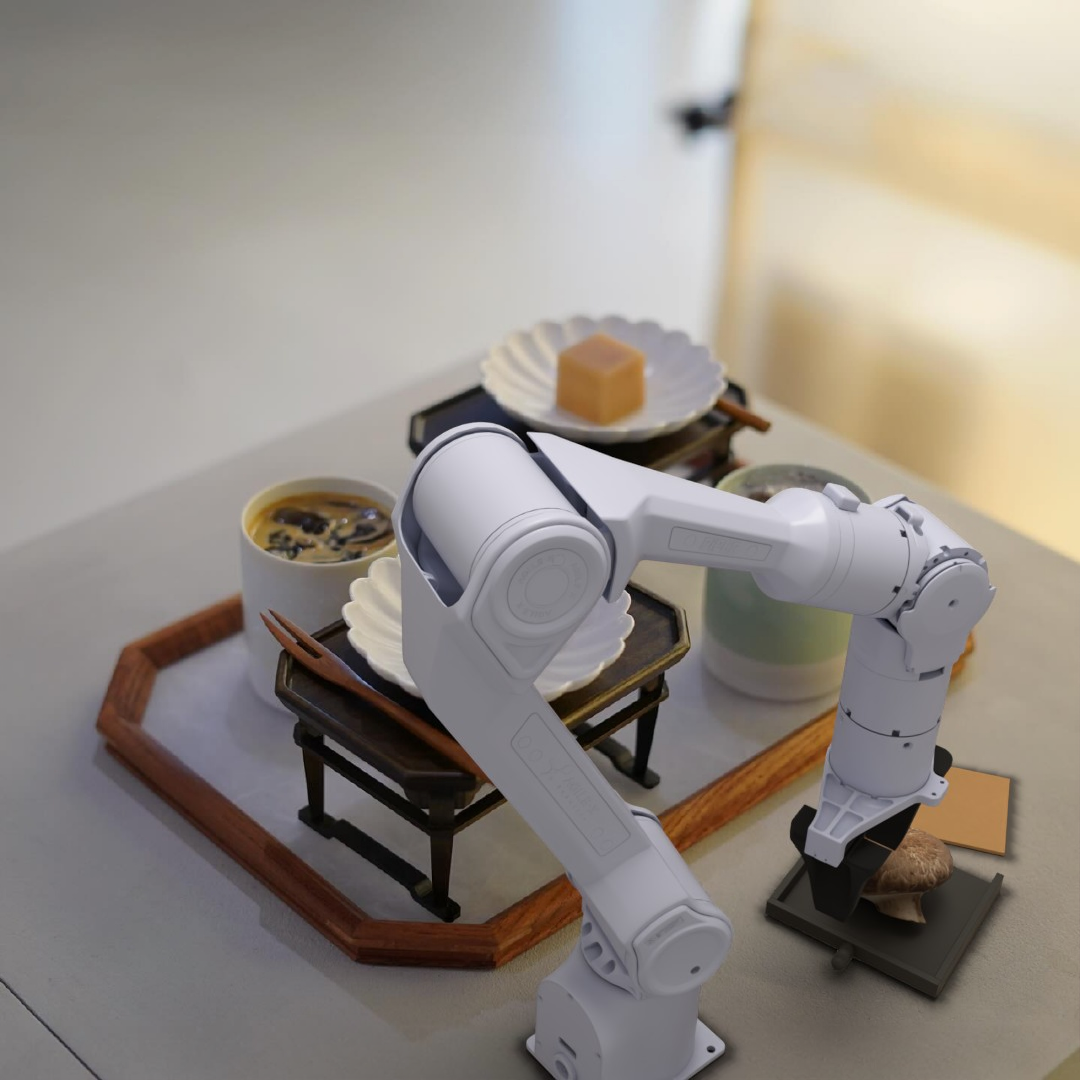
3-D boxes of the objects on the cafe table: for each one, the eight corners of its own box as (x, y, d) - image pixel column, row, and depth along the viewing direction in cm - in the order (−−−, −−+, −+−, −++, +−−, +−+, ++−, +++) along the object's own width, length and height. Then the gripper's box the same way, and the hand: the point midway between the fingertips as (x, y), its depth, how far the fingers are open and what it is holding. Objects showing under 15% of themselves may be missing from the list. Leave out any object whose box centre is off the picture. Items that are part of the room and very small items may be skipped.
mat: (1004, 856, 106) (1004, 853, 106) (888, 830, 108) (889, 827, 108) (1009, 781, 113) (1010, 778, 112) (900, 758, 114) (900, 755, 114)
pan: (838, 818, 109) (841, 802, 108) (1000, 891, 103) (1004, 875, 102) (749, 936, 100) (752, 919, 99) (921, 1023, 94) (925, 1006, 93)
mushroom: (958, 934, 95) (937, 836, 95) (833, 947, 98) (813, 852, 98) (969, 900, 103) (950, 809, 103) (853, 913, 106) (834, 825, 106)
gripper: (905, 806, 78) (868, 982, 86) (1005, 665, 89) (964, 834, 96) (782, 752, 82) (757, 927, 89) (892, 622, 92) (861, 789, 99)
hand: (857, 875), depth 93 cm, fingers open, 7 cm apart
